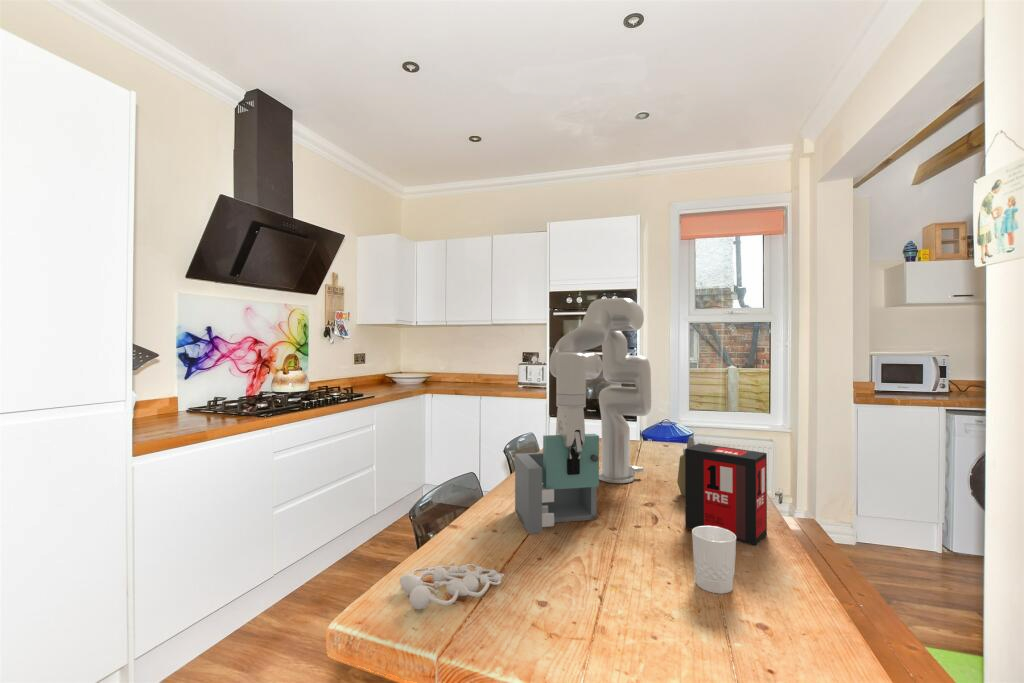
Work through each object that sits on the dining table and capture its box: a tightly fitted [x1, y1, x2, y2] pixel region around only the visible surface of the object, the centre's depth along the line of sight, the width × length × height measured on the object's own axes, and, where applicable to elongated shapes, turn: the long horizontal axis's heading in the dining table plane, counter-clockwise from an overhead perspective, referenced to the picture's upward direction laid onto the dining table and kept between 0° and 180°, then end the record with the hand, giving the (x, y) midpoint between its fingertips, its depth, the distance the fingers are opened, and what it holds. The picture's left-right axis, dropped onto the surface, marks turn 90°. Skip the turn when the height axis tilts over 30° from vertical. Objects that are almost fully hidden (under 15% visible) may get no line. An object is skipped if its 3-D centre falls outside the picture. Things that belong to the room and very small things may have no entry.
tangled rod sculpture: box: [399, 563, 505, 611], centre depth 91 cm, size 19×14×4 cm
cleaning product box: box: [684, 443, 768, 547], centre depth 118 cm, size 16×9×20 cm, turn 47°
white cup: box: [691, 526, 737, 595], centre depth 92 cm, size 8×8×10 cm
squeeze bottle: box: [677, 436, 696, 498], centre depth 145 cm, size 8×8×18 cm
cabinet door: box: [542, 433, 600, 489], centre depth 121 cm, size 14×4×13 cm, turn 102°
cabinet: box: [514, 451, 598, 535], centre depth 126 cm, size 20×16×16 cm
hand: (571, 471), depth 122 cm, fingers closed on cabinet door, 3 cm apart
